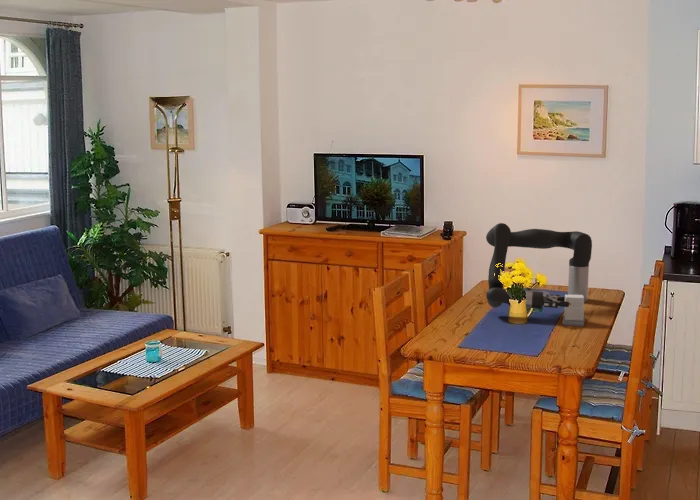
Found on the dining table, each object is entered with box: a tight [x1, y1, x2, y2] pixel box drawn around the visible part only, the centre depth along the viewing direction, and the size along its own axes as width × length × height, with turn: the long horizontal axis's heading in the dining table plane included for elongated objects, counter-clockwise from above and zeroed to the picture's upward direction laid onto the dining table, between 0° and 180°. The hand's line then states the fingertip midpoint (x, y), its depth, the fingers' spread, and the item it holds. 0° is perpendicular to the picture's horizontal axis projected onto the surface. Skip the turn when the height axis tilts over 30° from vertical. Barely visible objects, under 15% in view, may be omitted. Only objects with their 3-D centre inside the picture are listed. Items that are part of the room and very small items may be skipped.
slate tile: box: [561, 315, 586, 327], centre depth 379 cm, size 14×9×1 cm, turn 163°
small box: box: [563, 293, 585, 321], centre depth 378 cm, size 8×6×10 cm
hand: (569, 302), depth 378 cm, fingers open, 8 cm apart
